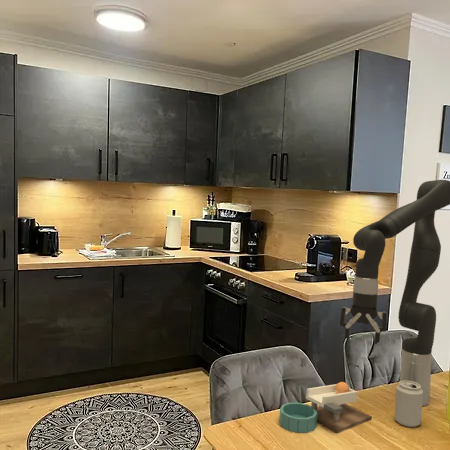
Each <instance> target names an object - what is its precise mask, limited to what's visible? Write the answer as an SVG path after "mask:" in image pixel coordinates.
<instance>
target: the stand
mask: <svg viewBox="0 0 450 450" xmlns="http://www.w3.org/2000/svg"><path fill="white" fill-rule="evenodd" d="M336 405H338V406H340V407H342V408H343V410H342V412H337V413H333V412H331V411H329V410H327V409H325V408H323V407H321V406H319V405H317V404H315V403H314V402H312V401H311V405H310V406H311V407H313V408H315V410H316V411H317V424H319V425H321V426H323V427H325V429H328V430H330V431H332V432H333V433H335V434H339V433H341V432H343V431H347V430H348V429H351V428H353V427H356V426H359V425H361V424H364V423H366V422H369V421H371V420H372V419H373V417H372V415H370V414H369V413H366V412H364V411H361V410H359V409H357V408H356V407H353V406H351V405H349V404H348V403H345V404H336Z"/></svg>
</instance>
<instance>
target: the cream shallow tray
mask: <svg viewBox="0 0 450 450" xmlns="http://www.w3.org/2000/svg"><path fill="white" fill-rule="evenodd" d="M337 384H338V383H336V384H329V385H322V386H317V387H316V386H315V387H309V388H308V387H307V388H306V393H305V400H308V401H309V402H311V403H312V402H314V403H315V404H317V406H321V407H323V408H325V409H327V410H329V411H331V412H333V413H337V412H342V410H343V408H342V407H340V406H338V405H336V404H350V403H355V402H357V399H358V391H356V390H355V389H352V388H350V387H349V392H346V393H340V394H338V393H337V391H336V385H337Z"/></svg>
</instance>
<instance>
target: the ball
mask: <svg viewBox="0 0 450 450" xmlns="http://www.w3.org/2000/svg"><path fill="white" fill-rule="evenodd" d="M336 384H337V385H336V391H337V393H338V394H340V393H346V392H349V388H350V387H349V385H348V383H346V382H344V381H340V382H338V383H336Z"/></svg>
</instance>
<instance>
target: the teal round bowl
mask: <svg viewBox="0 0 450 450" xmlns="http://www.w3.org/2000/svg"><path fill="white" fill-rule="evenodd" d="M278 421H279V425H280V427H282V428H283V429H285V430H287V431H288V432H294V433H297V434H302V433H303V434H308V433H311V432H314V431H315V430H316V428H317V425H318V423H317V411H316V410H315V408H313V407H311V405H309V404H306V403H301V402H287V403H284V404H282V405H281V407H280V408H279V420H278Z"/></svg>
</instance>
